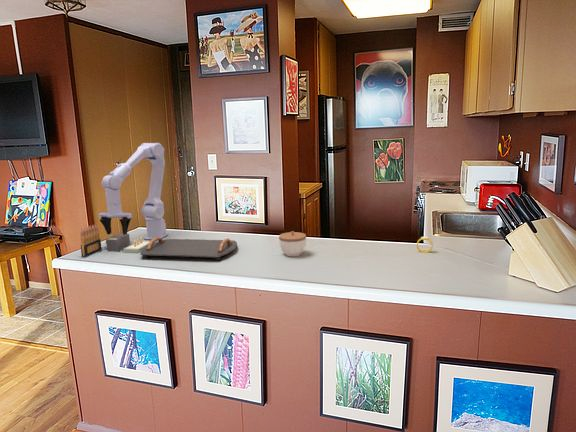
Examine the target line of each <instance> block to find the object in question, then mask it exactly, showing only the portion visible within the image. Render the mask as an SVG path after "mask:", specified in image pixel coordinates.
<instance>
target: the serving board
mask: <svg viewBox="0 0 576 432" xmlns="http://www.w3.org/2000/svg"><path fill="white" fill-rule="evenodd" d="M149 241H150V242H149V244H148V246H146V247H145V248H144V249H143V250H142V251H141V252H140V256H142V259H143V260H144V259H148V258H149V256H158V257H159V256H160V257H165V256H166V257H191V258H215V259H214V260H215V261H216V262H219V261H221V259H222V257H224V256H226V255H227V254H230V253H231V252H232V251H235V250H236V249H237V246H238V243H237V241H236V240H233V239H229V238H224V239H193V238H192V239H188V238H179V239H178V238H166V239H165V238H164V239H163V238H160V237H156V238H154V239H150V240H149Z"/></svg>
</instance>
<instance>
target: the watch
mask: <svg viewBox="0 0 576 432" xmlns="http://www.w3.org/2000/svg"><path fill="white" fill-rule="evenodd" d="M421 241H429V242H430V245H431V247H430V249H428V250H421V249H420V247H419V243H420V242H421ZM433 248H434V247H433V242H432V240H431V239H430V238H429V237H428V236H421V237H420V238H419V239H418V240H417V242H416V249H417V250H418V251H419V252H420V253H429V252H431V251H432V249H433Z"/></svg>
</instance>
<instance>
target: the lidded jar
mask: <svg viewBox="0 0 576 432" xmlns="http://www.w3.org/2000/svg"><path fill="white" fill-rule="evenodd" d="M278 240H279V245H280V246H279V247H280V249H281V251H282V253H284V254H285V256H287V257H298V256H301V255H302V253H303V252H304V250H305V248H306V244H307V235H306V233H304V232H297V231H296V232H295V231H294V230H292V231H291V230H290V231H289V232H283V233H281V234H279V236H278Z"/></svg>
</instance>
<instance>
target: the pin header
mask: <svg viewBox="0 0 576 432" xmlns="http://www.w3.org/2000/svg"><path fill="white" fill-rule="evenodd" d="M150 241H151V240H143V237H142V236H139V237H137V238H136V239H133V243H132V244H130V245H129V246H127V247H125V248H123V249H122V252H123V253H124V254H127V253H130V254H139V253H141V251H142V250H143V249H144V248H145V247H146V246H148V244H149V242H150Z"/></svg>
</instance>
